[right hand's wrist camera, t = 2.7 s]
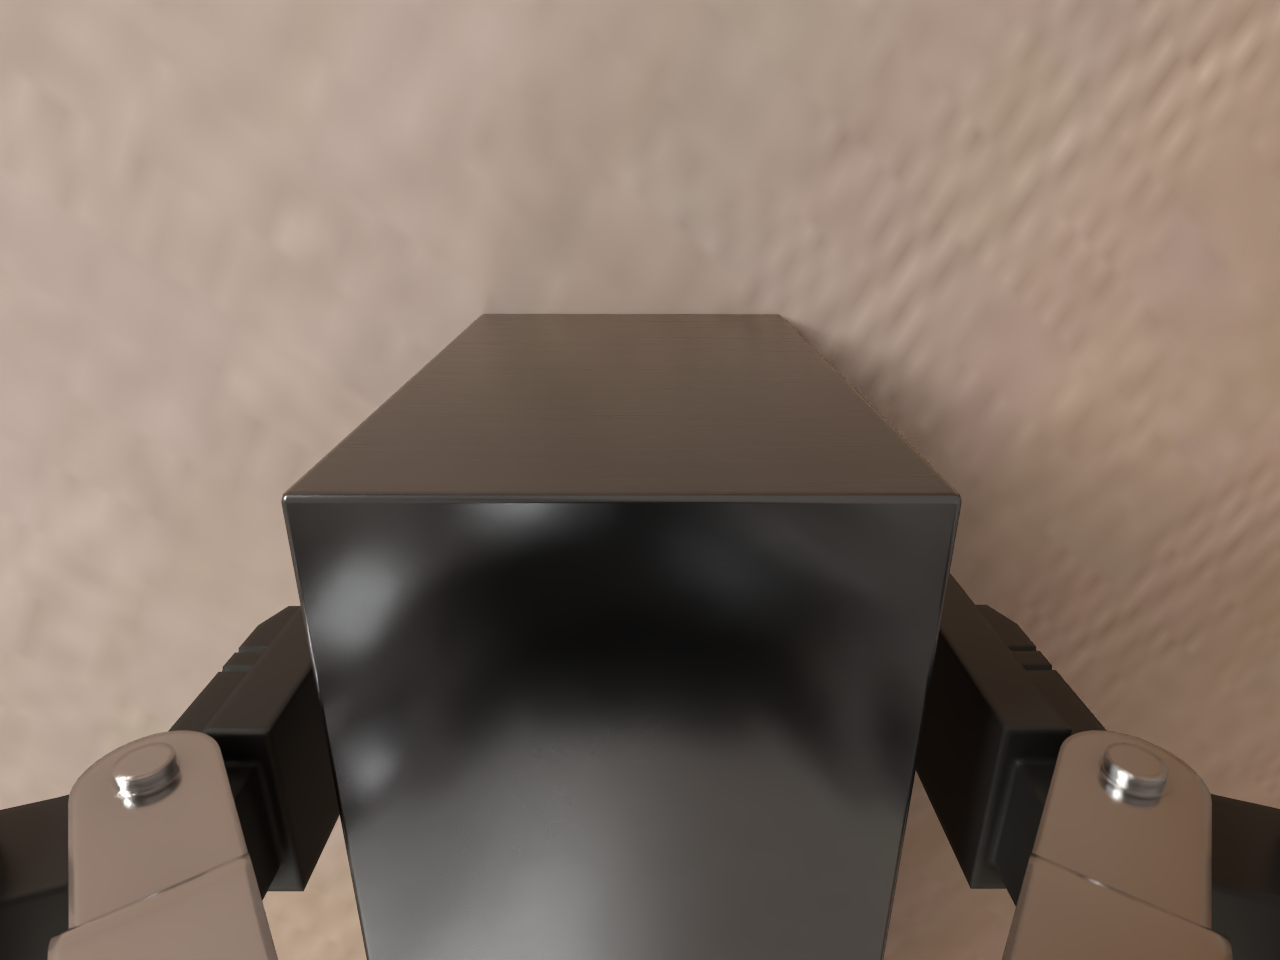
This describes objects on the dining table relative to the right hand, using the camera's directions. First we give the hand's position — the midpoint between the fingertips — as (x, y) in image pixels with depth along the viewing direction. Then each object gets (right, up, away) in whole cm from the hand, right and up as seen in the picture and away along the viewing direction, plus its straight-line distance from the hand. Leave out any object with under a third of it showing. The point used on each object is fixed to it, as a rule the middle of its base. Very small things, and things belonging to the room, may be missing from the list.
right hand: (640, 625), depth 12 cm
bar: (0, -7, +9) cm, 11 cm away
